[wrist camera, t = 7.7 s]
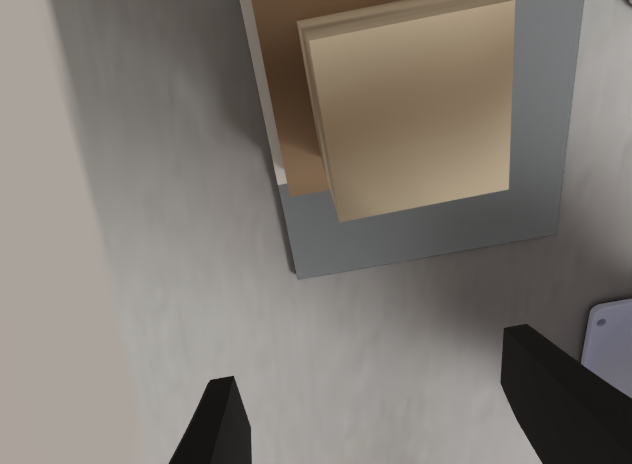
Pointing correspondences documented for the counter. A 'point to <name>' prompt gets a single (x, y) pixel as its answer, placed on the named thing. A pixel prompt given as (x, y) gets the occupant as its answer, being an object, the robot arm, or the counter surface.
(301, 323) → the counter surface
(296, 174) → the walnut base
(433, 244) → the slate mat
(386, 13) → the beech block
